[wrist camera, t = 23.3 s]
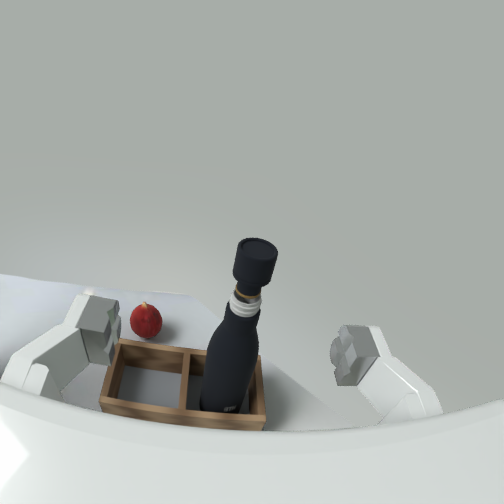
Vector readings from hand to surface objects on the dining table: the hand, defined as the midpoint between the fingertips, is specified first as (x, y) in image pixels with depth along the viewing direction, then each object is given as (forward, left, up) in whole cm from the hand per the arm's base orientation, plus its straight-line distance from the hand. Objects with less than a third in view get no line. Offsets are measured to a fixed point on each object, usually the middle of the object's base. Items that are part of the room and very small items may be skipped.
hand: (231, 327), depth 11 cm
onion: (-10, +31, -38) cm, 50 cm away
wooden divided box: (-2, +18, -38) cm, 42 cm away
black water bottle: (+4, +18, -38) cm, 42 cm away
